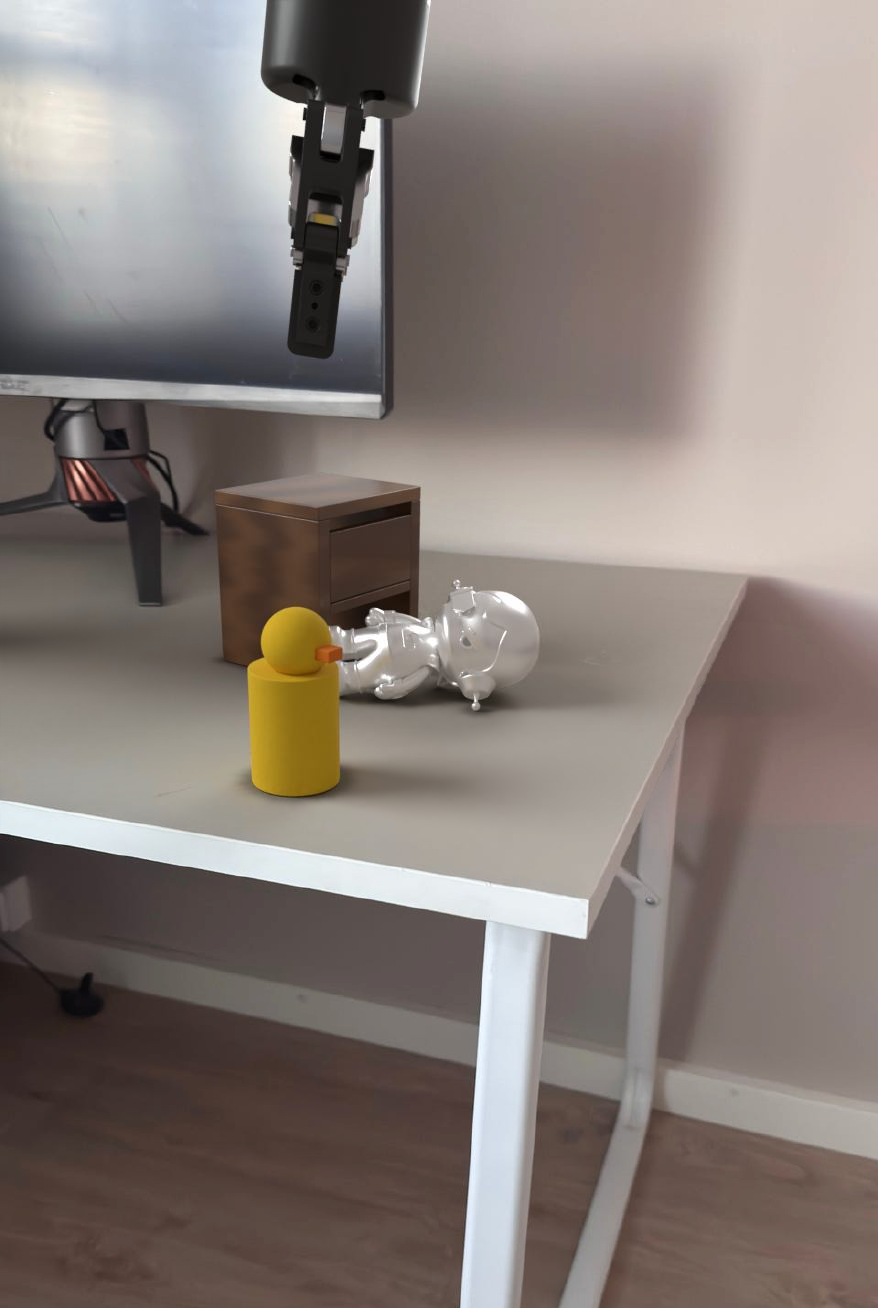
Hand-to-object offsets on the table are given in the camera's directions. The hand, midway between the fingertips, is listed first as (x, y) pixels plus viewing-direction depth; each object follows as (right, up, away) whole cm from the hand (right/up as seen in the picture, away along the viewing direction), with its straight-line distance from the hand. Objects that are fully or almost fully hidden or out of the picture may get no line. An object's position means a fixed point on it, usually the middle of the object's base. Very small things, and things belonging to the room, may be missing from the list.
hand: (310, 355), depth 60 cm
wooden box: (-3, -12, +33) cm, 35 cm away
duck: (-2, -22, +10) cm, 24 cm away
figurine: (+6, -16, +25) cm, 30 cm away
